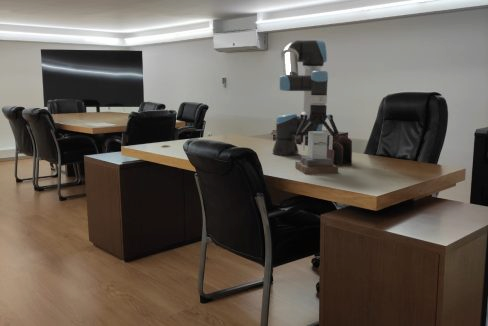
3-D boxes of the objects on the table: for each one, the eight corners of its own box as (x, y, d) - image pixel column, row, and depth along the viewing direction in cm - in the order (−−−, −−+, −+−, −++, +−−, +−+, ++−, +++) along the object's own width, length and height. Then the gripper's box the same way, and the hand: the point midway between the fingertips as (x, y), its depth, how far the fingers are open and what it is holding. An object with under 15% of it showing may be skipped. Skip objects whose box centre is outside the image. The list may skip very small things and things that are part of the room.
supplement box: (311, 159, 223) (312, 132, 221) (307, 157, 230) (308, 131, 228) (326, 159, 224) (328, 132, 222) (321, 156, 232) (322, 130, 229)
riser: (295, 167, 235) (295, 155, 234) (326, 167, 237) (326, 155, 236) (304, 174, 219) (305, 161, 218) (337, 173, 222) (338, 160, 221)
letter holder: (339, 160, 261) (340, 134, 259) (351, 166, 242) (353, 138, 239) (321, 160, 260) (322, 134, 258) (332, 166, 241) (334, 138, 238)
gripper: (295, 104, 217) (293, 150, 221) (346, 104, 221) (344, 150, 225) (290, 103, 224) (289, 148, 228) (340, 104, 229) (338, 147, 232)
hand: (316, 149), depth 227 cm, fingers open, 13 cm apart
